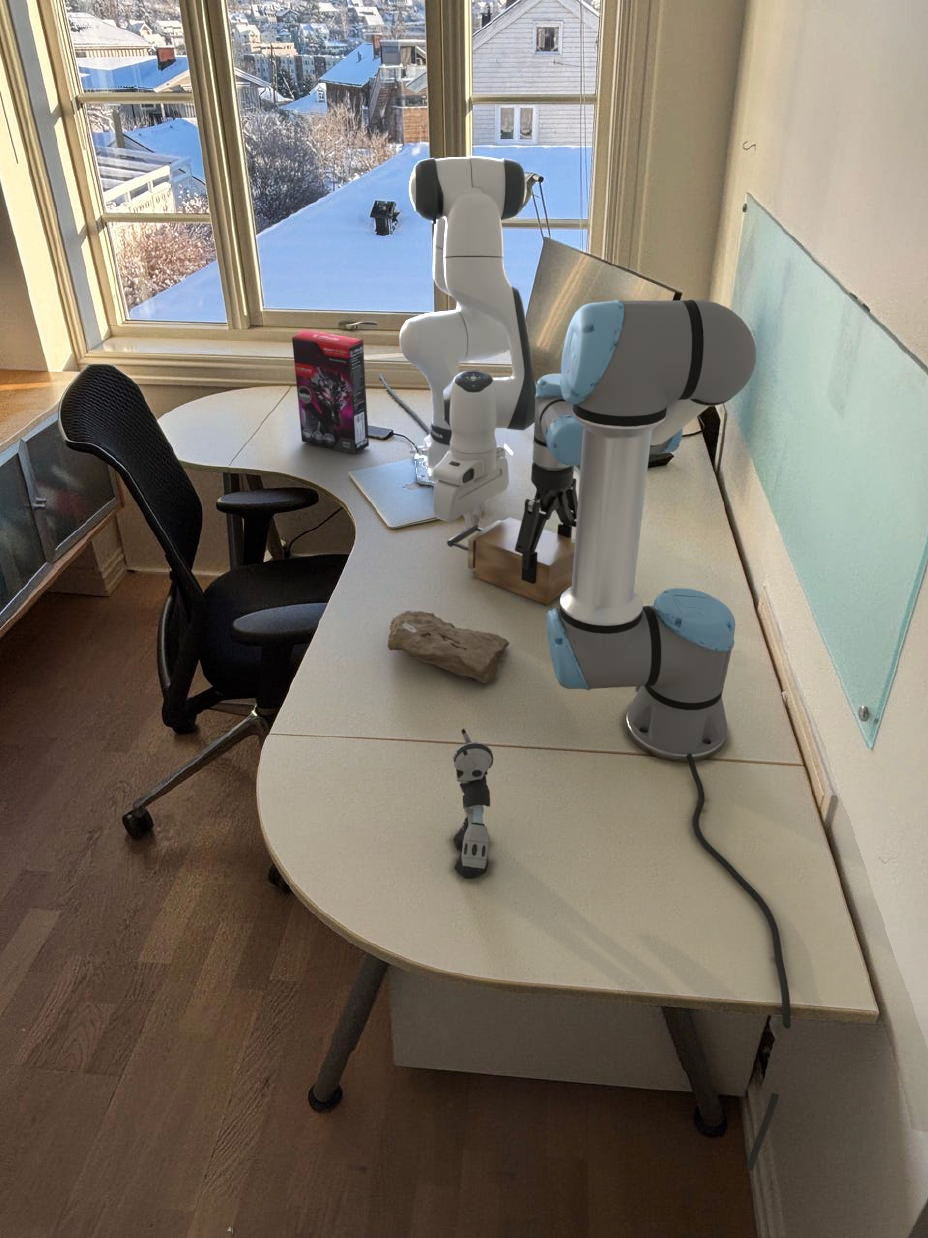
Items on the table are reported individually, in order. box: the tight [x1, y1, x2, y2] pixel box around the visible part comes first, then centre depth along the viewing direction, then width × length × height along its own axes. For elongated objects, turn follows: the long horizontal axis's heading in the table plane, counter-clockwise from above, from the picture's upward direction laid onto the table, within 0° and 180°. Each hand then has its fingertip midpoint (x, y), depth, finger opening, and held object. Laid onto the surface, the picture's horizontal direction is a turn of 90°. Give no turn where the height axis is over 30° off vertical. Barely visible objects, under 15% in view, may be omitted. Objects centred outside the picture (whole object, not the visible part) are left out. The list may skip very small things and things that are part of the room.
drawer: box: [446, 519, 503, 570], centre depth 181 cm, size 21×10×6 cm, turn 53°
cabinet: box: [474, 516, 575, 606], centre depth 178 cm, size 17×11×9 cm
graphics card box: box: [291, 329, 370, 455], centre depth 226 cm, size 17×7×27 cm, turn 62°
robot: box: [452, 728, 494, 879], centre depth 116 cm, size 20×5×20 cm, turn 3°
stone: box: [387, 610, 510, 685], centre depth 156 cm, size 21×15×6 cm
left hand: (472, 524), depth 182 cm, fingers closed
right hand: (545, 568), depth 176 cm, fingers closed on cabinet, 11 cm apart
